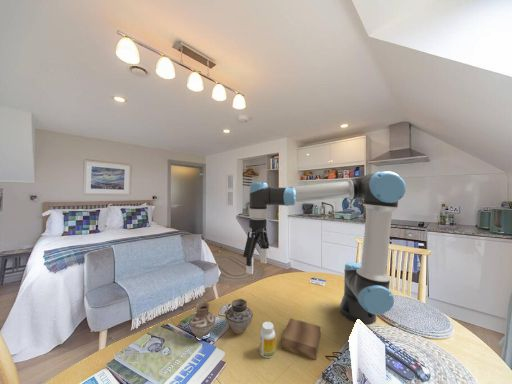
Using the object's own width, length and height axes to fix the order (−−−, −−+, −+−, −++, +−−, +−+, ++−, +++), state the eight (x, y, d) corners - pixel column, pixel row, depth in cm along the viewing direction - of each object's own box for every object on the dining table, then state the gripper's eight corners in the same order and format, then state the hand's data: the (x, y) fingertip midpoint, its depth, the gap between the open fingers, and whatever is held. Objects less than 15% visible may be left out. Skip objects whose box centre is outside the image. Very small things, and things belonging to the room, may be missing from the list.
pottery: (188, 329, 82) (189, 299, 82) (248, 318, 90) (248, 291, 90) (188, 350, 72) (189, 316, 72) (256, 335, 79) (256, 304, 79)
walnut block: (320, 336, 79) (320, 326, 79) (316, 359, 68) (316, 348, 68) (290, 327, 84) (290, 318, 84) (281, 348, 73) (281, 337, 73)
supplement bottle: (256, 352, 71) (256, 325, 71) (266, 344, 75) (266, 318, 75) (268, 361, 67) (268, 332, 67) (278, 352, 71) (278, 325, 71)
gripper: (262, 215, 100) (261, 258, 100) (235, 221, 78) (233, 276, 78) (276, 216, 97) (275, 260, 97) (252, 223, 74) (251, 280, 75)
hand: (256, 267), depth 87 cm, fingers open, 13 cm apart
